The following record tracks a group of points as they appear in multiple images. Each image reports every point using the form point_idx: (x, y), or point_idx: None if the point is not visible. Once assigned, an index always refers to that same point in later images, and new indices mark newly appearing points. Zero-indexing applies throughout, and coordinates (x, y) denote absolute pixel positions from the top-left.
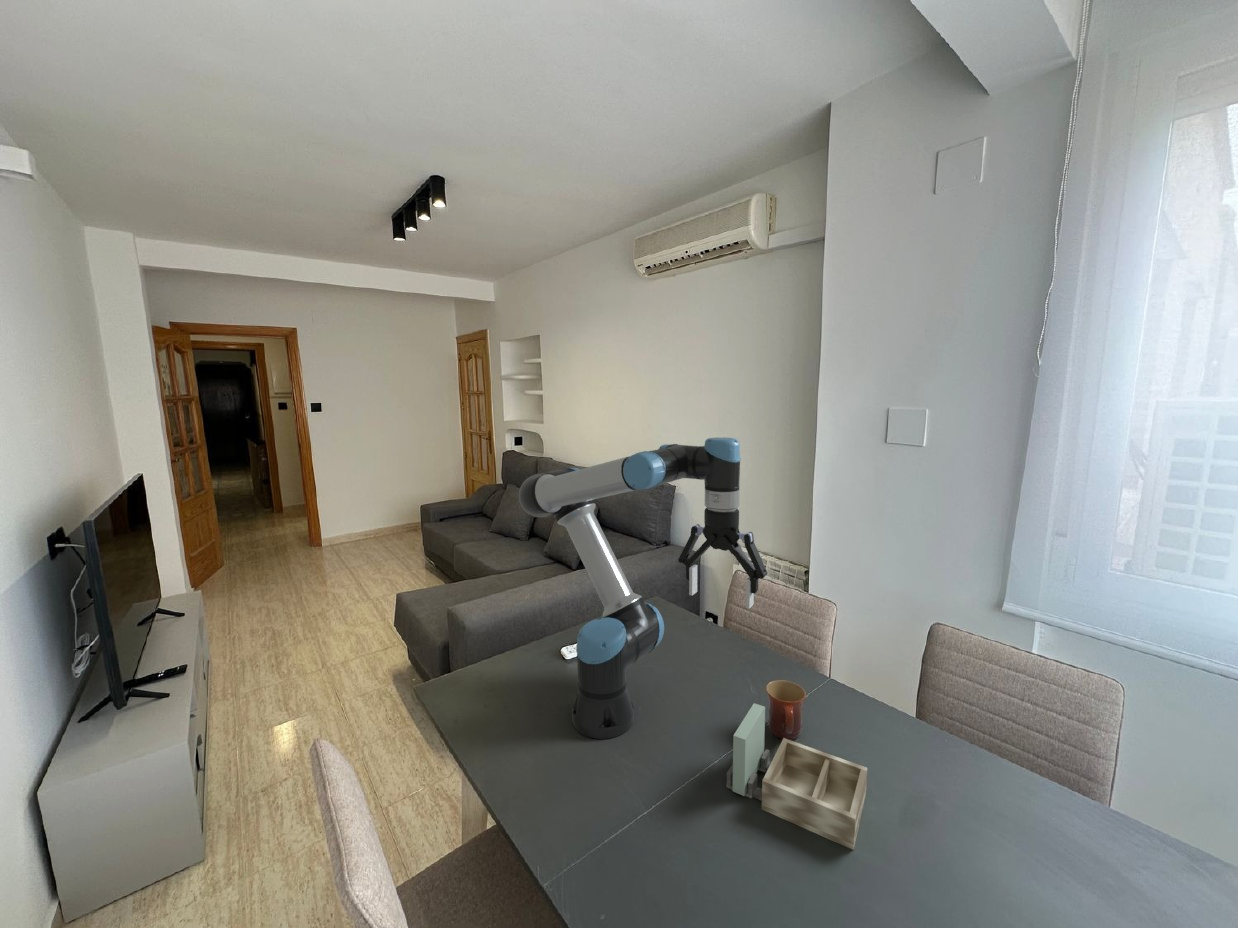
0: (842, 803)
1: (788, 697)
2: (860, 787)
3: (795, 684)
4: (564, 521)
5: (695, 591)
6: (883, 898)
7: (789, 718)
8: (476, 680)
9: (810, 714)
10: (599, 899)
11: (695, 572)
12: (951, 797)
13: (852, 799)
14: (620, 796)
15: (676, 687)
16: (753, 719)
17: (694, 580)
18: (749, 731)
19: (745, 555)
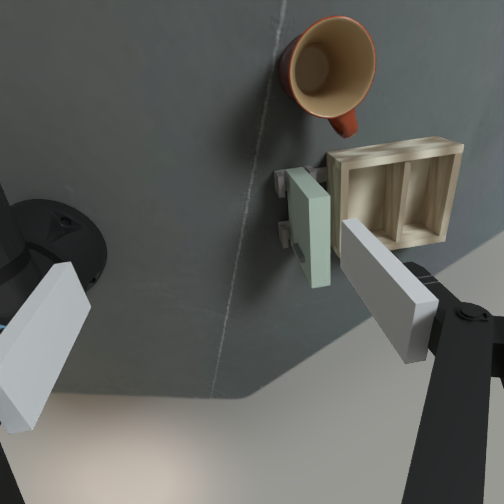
0: (412, 179)
1: (321, 37)
2: (452, 190)
3: (345, 21)
4: None
5: (76, 283)
6: (445, 253)
7: (351, 136)
8: None
9: None
10: (251, 382)
11: (31, 361)
12: None
13: (423, 164)
14: (191, 320)
15: (57, 78)
16: (324, 239)
17: (56, 334)
18: (329, 267)
19: (482, 471)
